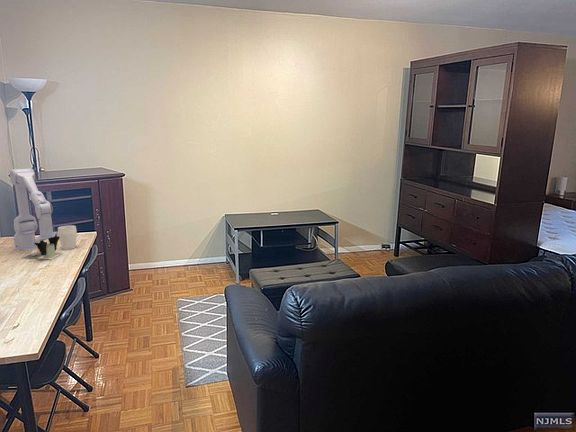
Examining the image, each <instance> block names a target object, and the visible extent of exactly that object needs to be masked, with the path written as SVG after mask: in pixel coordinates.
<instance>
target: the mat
mask: <svg viewBox="0 0 576 432" xmlns="http://www.w3.org/2000/svg"><path fill="white" fill-rule="evenodd" d="M61 256H63V254H62V253H61V254H60V253H55V256H54V257H51V258H43V255H41V253H40V252H38V254H37V255H36V256H32V255H31V253H30V254H27V255H25V256H23V257H22V259H29V260H45V261H52V260H53V259H55V258H59V257H61Z"/></svg>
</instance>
